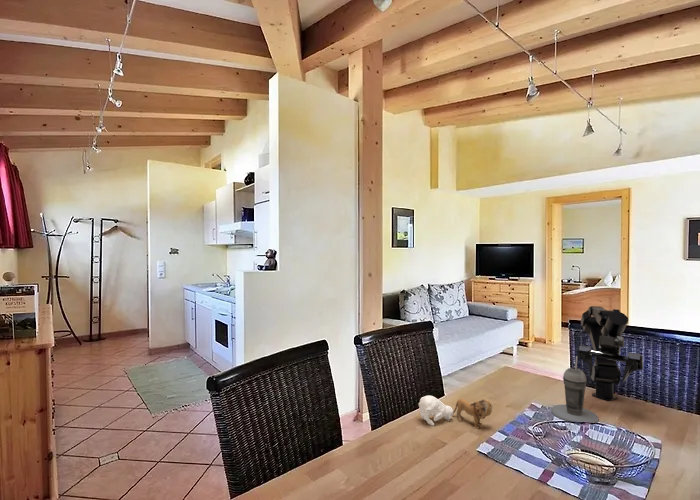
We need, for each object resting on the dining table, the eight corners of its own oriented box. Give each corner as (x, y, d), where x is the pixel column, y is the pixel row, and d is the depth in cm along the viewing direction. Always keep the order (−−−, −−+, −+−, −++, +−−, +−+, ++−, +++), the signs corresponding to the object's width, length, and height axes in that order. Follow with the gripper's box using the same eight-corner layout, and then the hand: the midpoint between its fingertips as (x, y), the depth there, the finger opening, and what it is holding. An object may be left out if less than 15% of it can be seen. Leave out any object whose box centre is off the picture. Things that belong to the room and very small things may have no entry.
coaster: (566, 404, 141) (566, 401, 141) (606, 418, 128) (606, 416, 128) (542, 411, 134) (542, 409, 134) (583, 428, 122) (583, 425, 122)
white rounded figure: (417, 392, 127) (448, 392, 131) (415, 418, 127) (446, 417, 131) (426, 400, 121) (459, 399, 125) (424, 427, 121) (456, 425, 125)
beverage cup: (579, 408, 134) (580, 352, 134) (591, 418, 127) (591, 358, 127) (558, 408, 135) (559, 352, 135) (568, 417, 128) (569, 357, 128)
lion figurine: (495, 427, 122) (495, 399, 122) (488, 432, 118) (488, 403, 118) (453, 413, 132) (453, 387, 132) (445, 418, 128) (445, 391, 128)
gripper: (578, 323, 139) (571, 359, 131) (642, 330, 127) (639, 371, 119) (582, 340, 145) (576, 376, 137) (644, 349, 133) (641, 389, 125)
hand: (606, 378), depth 129 cm, fingers open, 9 cm apart
